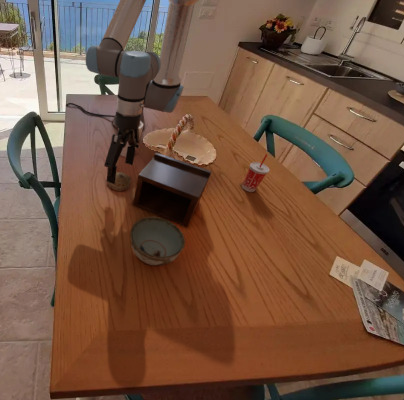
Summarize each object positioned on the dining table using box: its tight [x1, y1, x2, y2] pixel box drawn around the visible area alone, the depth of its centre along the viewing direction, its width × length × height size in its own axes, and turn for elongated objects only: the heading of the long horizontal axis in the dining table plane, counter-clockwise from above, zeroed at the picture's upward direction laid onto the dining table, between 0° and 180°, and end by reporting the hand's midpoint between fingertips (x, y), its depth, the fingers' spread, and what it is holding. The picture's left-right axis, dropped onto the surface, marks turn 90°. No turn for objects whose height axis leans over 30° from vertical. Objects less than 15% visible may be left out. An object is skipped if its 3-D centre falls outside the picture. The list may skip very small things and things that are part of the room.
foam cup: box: [117, 121, 144, 158], centre depth 106 cm, size 10×9×13 cm
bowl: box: [129, 216, 186, 267], centre depth 69 cm, size 14×13×8 cm
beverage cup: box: [241, 153, 270, 193], centre depth 92 cm, size 6×6×14 cm
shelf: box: [132, 152, 212, 228], centre depth 83 cm, size 18×13×13 cm
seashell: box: [107, 171, 132, 192], centre depth 94 cm, size 8×6×8 cm
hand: (120, 172), depth 92 cm, fingers open, 13 cm apart
